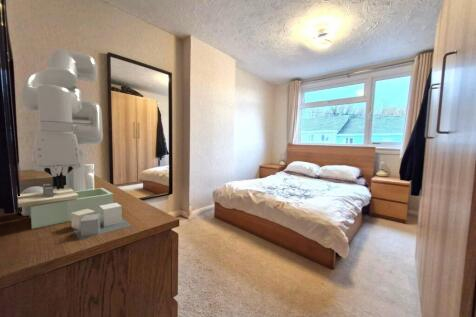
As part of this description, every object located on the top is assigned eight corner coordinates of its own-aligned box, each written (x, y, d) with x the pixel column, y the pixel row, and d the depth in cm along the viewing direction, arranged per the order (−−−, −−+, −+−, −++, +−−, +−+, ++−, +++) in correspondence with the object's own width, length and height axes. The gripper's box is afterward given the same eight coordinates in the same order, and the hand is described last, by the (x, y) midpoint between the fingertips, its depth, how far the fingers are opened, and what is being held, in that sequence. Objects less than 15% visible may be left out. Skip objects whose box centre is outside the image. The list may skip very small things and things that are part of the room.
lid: (17, 197, 61) (17, 185, 61) (71, 191, 70) (70, 180, 70) (18, 207, 52) (17, 193, 52) (78, 198, 62) (78, 186, 61)
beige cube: (71, 226, 57) (71, 212, 56) (87, 221, 60) (87, 208, 60) (79, 230, 55) (78, 215, 54) (95, 224, 58) (95, 211, 58)
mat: (70, 226, 58) (70, 225, 58) (117, 215, 66) (117, 214, 66) (79, 241, 50) (79, 239, 49) (132, 226, 58) (132, 225, 58)
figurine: (78, 207, 74) (77, 165, 73) (79, 200, 82) (77, 163, 80) (102, 203, 78) (101, 164, 77) (101, 197, 86) (100, 162, 85)
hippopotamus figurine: (71, 209, 72) (70, 184, 71) (19, 219, 62) (17, 190, 61) (67, 204, 76) (66, 181, 76) (18, 213, 67) (16, 186, 66)
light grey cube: (84, 229, 55) (84, 215, 55) (100, 227, 56) (100, 213, 56) (81, 236, 51) (80, 221, 51) (98, 234, 53) (97, 219, 52)
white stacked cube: (99, 222, 60) (99, 205, 60) (116, 218, 63) (116, 202, 63) (104, 227, 57) (103, 209, 57) (121, 222, 60) (121, 205, 60)
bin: (29, 218, 63) (28, 197, 62) (103, 204, 77) (102, 187, 77) (32, 230, 55) (30, 206, 54) (113, 212, 69) (113, 193, 69)
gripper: (84, 129, 70) (86, 182, 71) (20, 127, 59) (24, 189, 60) (89, 129, 64) (91, 186, 66) (20, 126, 54) (25, 195, 55)
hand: (59, 188), depth 63 cm, fingers closed
